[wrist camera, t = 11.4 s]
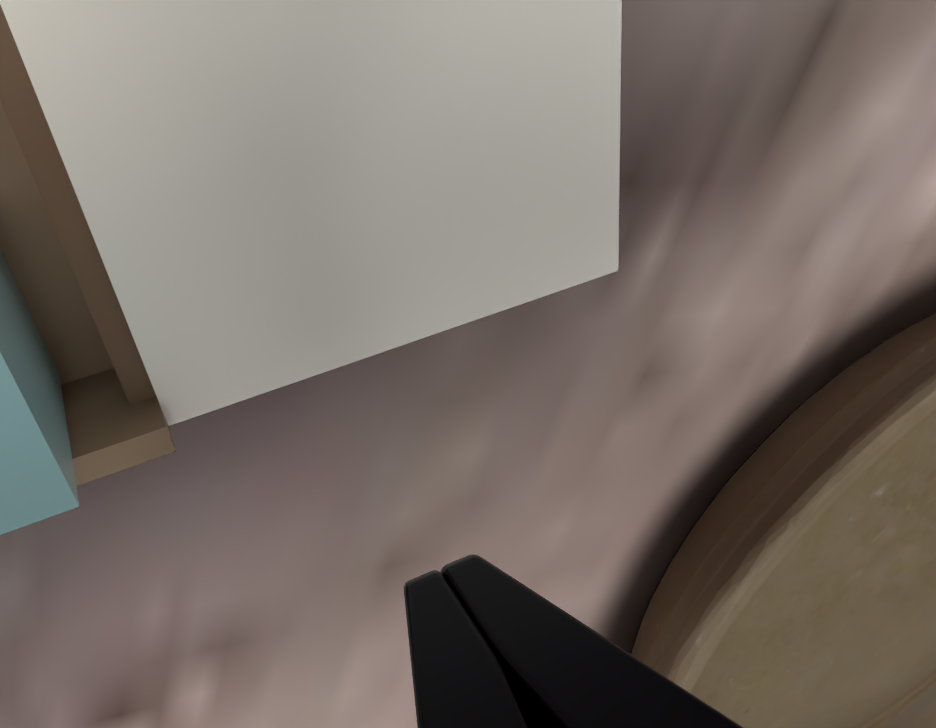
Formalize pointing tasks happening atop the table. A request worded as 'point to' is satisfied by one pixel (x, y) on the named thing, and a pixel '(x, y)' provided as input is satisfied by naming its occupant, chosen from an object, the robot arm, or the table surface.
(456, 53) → the bench slab
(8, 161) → the box
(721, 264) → the table surface
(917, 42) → the table surface
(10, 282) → the pale teal cube
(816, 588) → the plant saucer
